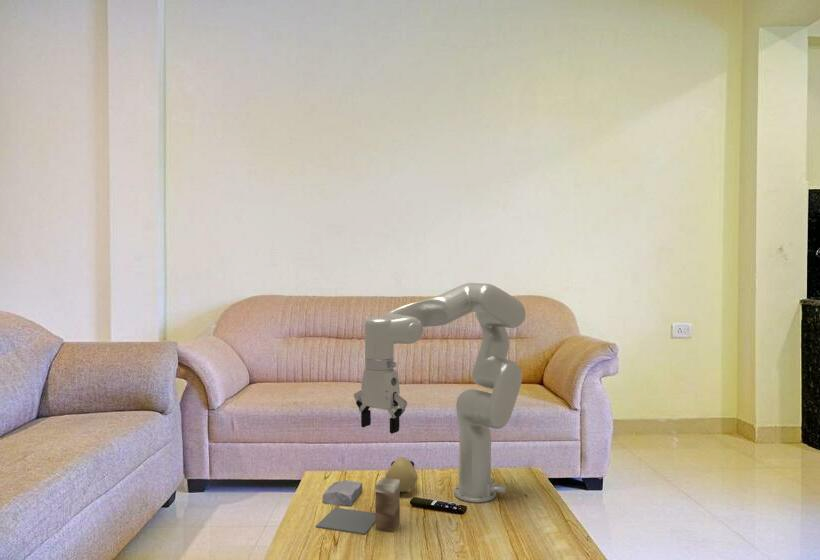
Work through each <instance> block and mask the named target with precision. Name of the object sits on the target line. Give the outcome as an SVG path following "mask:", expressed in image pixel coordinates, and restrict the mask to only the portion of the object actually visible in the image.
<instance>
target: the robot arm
mask: <svg viewBox="0 0 820 560" xmlns="http://www.w3.org/2000/svg"><path fill="white" fill-rule="evenodd" d="M474 312H475V316H476V319H477V321H478V323H479V325H480V330H481V332H482V339H481V340H482V341H481V344H480V347H479V351H478V353H477V356H476V358H475V362H474V365H473V368H472V373H471V378H472V381H473V383H475V384H476V385H477V386H479V387H482V388H486V389H488V390H492V391H491V393H490V392H488V391H483V390H479V389H473V388H471V389H465V390H463V391H462V392H461V393H460V394H459V395H458V397H457V398H456V402H455V403H456V405H455V408H456V409H455V410H456V415H457V419H458V429H459V430H458V431H459V447H458V448H459V451H458V452H459V455H458V456H459V457H458V459H459V463H458V464H459V465H458V466H459V467H458V469H459V471H458V474H459V475H458V476H459V477H458V483H459V484H458V485H456V486H455V488H454V489H453V490H454V491H453V493H454V496H455V497H456V498H457V499H459V500H461V501H465V502H470V503H487V502H490V501H492V500H494V499H495V498H497V497H496V496H497V493H498V494H502V495H503V494H506V491H507V490H506V489H507V487H506V486H504V485H503V484H502V483H496V482H494V478H493V477H492V433H491V430H490V429H494V430H499V429H502V428H504V427H506V425H508V423H509V421H510V419H511V417H512V413H513V411H514V408H515V405H516V402H517V398H518V396H519V394H520V390H521V386H522V382H523V381H522V380H523V374H522V370H521V367H520V366H519V364H518V363H517V362H515V361H513V360H511V359H507V357H508V353H509V349H510V343H511V342H510V338H509V334H508V332H507V329H508V328H510V329H515V328H519V327H520V326H521V325H522V324H523V323H524V321H525V320H526V315H527V314H526V309H525V306H524V304H523V303H522V302H521V301H520V300H519V299H518V298H516V297H514V296H512V295H511V294H509V293H508V292H506V291H504V290H502V289H501V288H499V287H498V286H496V285H493V284H491V283H484V282H483V283H479V282H467V283H464V284H461V285H459V286H457V287H455V288H452V289H449V290H447V291H446V292H443V293H441V294H438V295H437V296H434V297H430V298H426V299H423V300H420V301H416V302H412V303H409V304H406V305H403V306H400V307H396V308H395V309H393V310H390V311H389V312H386V313H384V314H383V315H381V316H379V317H378V316H377V317H369V318H367V319H366V320H365V322H364V366H365V367H364V369H363V372H362V379H361V386H360V387H361V388H360V390H359V391H357V392H355V393H354V394H353V398H354V400H355V404H356V406H357V407H358V411H359V413H360V417H361V418H360V424H361V425H360V426H361V428H366V427H368V426H370V425H371V424H372V421H371V420H372V418H371V415H372V413H371V412H372V410H371V409H370V408H373V409H379V410H384V411H387V412H388V413H389V415H390V418H389V434H395V433H398V432H399V431H400V417H401V416H402V415H403V414H404V413H405V412H406V408H407V406H408V401H407V400H406V399H405V398H403V397H401V391H400V382H399V377H398V372H397V369H395V368H396V367H397V362H395V359H394V358H395V357H394V356H395V355H394V351H395V349H394V348H395V347H394V345H395V344H396V345H397V344H401V345H402V344H403V345H412V344H415V343H416V342H418V341H419V340H420V339H422V337H423V335H424V328H426V327H440V326H441V327H442V326H445V325H448V324H451V323H452V322H455V321H456V320H459V319H460V318H463V317H464V316H467V315H469V314H472V313H474ZM506 328H507V329H506Z"/></svg>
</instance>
